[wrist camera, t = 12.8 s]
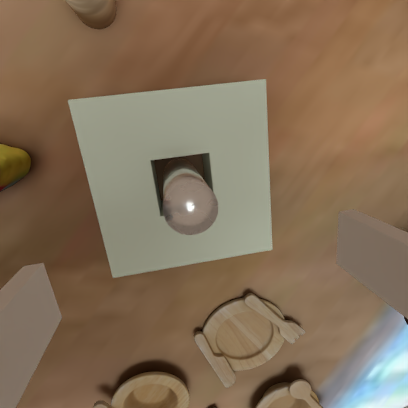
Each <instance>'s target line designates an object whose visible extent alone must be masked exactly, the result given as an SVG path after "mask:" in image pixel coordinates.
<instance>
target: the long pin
mask: <svg viewBox="0 0 408 408" xmlns="http://www.w3.org/2000/svg"><path fill="white" fill-rule="evenodd" d="M163 214H164V218H165V220H166V222H167V224H168V225H169V226H170V227H171V228H172V229H173V230H174V231H176V232H178V233H180V234H184V235H196V234H199V233H202V232H204V231H206V230H207V229H208V228H210V227H211V226H212V224H213V223H214V222H215V220H216V218H217V215H218V201H217V198H216V196H215V194H214V193H213V191H212V190H211V189H210V187H209V186H208V185H207V183H206V182H205V181H204V179H203V178H202V177H201V175H200V174H199V173H198V171H197V170H196V169H195V167H194V166H193V165H192V163H190V162H189V161H188V160H185V159H180V158H179V159H174V160H172V161H170V162H169V163H168V164H167V165H166V167H165V169H164V173H163Z"/></svg>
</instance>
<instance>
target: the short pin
mask: <svg viewBox="0 0 408 408" xmlns="http://www.w3.org/2000/svg"><path fill="white" fill-rule="evenodd" d="M66 2H67V3H68V4H69V5H70V7H71V8H72V9H73V10H74V12H75V13H76V14H77V16H78V17H79V18H80V19H81V20H82V22H83V23H85V24H86V25H87V26H89V27H91V28H94V29H103V28H106V27H108V26H109V25H110V24H111V23H112V22H113V20H114V19H115V16H116V3H115V0H66Z"/></svg>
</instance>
